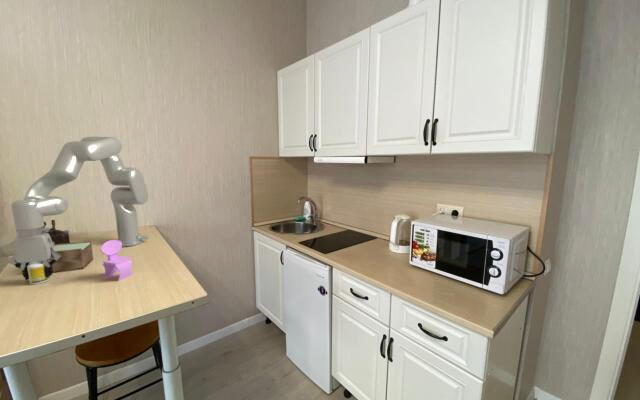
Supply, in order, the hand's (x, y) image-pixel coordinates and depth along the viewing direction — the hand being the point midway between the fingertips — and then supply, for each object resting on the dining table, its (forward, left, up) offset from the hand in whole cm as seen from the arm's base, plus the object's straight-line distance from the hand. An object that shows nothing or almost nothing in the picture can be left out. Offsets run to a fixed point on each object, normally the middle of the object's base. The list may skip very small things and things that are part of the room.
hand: (39, 276), depth 107 cm
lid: (-4, -14, +6) cm, 16 cm away
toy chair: (-27, +6, -2) cm, 28 cm away
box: (-4, -14, -2) cm, 15 cm away
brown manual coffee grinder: (+9, -37, -2) cm, 38 cm away
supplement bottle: (0, 0, -2) cm, 2 cm away
